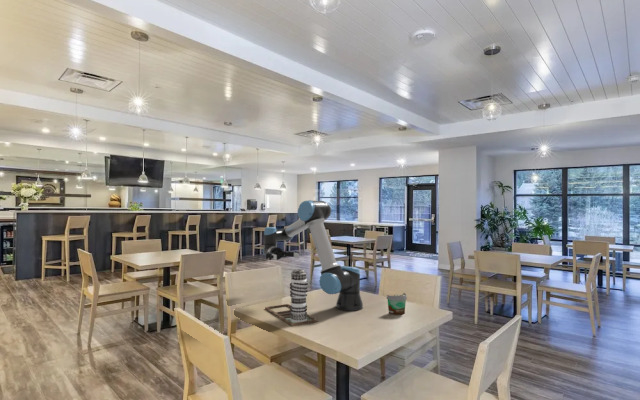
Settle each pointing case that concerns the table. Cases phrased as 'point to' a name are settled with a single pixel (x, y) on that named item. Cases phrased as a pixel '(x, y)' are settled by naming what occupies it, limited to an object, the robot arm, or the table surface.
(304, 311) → the decorative candle
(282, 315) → the brown flat rectangular frame
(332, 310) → the table surface
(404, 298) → the food container
